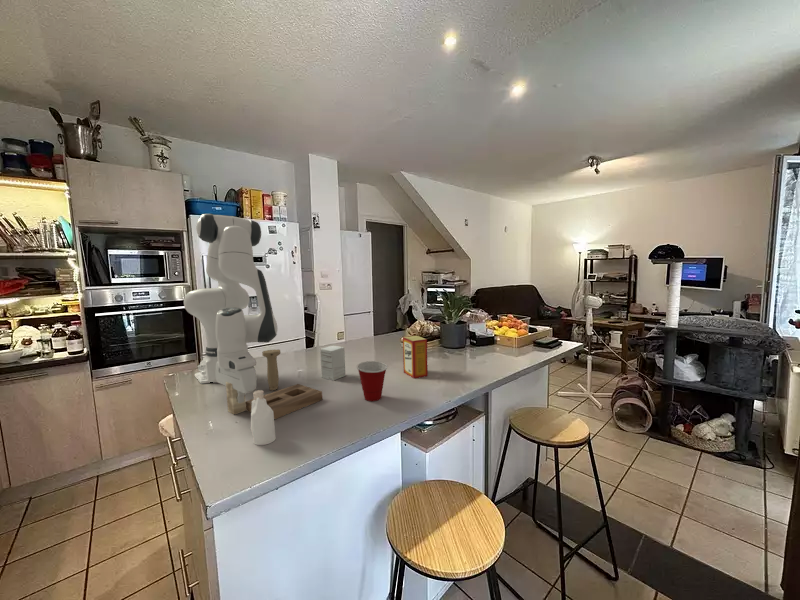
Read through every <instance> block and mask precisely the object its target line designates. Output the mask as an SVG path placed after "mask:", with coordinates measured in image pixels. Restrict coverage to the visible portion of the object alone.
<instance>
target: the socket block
mask: <svg viewBox="0 0 800 600" xmlns="http://www.w3.org/2000/svg"><path fill="white" fill-rule="evenodd" d="M263 397H264V399H266V402H267V405H268V406H269V407H270V408H271V409H272V410H273V413H274V419H275V420H277V419H280V418H282V417H285V416H286V414H287V415H288V414H291V412H292V413H293V412H296V411H299V410H300V409H303V407H304V408H306V407H309V406H311V405H313V404H316V403H318V402H320V400H321V401H323V390H318V389H316V388H314V387H313V388H312V387H309V386H306V385H303V384H300V383H297V384H294V385H290V386H288V387H284V388H282V389H277V390H274V391H273V392H270V393H269V392H268V393H266V394H264V396H263ZM253 400H254V398H251V399H249V400H246V411H247V412H248V413H251V406H252V401H253ZM308 405H309V406H308Z"/></svg>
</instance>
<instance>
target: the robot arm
mask: <svg viewBox="0 0 800 600" xmlns="http://www.w3.org/2000/svg"><path fill="white" fill-rule="evenodd" d="M195 230H196V233H197V235H198V238H199V239H200V240H201V241H202V242H206V243H209V244H208V249H207V257H206V268H205V270H206V274H207V276H208V277H209V278H210V279H212V280H214V281H216V282H217V284H218V285H217V287H213V288H212V287H211V288H210V287H209V288H208V287H207V288H200V289H199V288H198V289H194V290H191V291H188V292H187V293H186V294H185V296H184V299H183V306H184V309H185V310H186V312H187V313H188V314H190V315H191V316H193V317H195V318H196V319H198V321H199V322H200V323H201V325H202V326H203V328H204V333H205V338H206V347H205V356H204V357H203V359H201V361H200V363H199V365H197V367H196V368H197V371H198V372H196V373H194V377H195V378H196V379H198V380H197V381H198V382H199V384H209V383H210V382H213V383H218V384H220V385H223V386H225V387H226V382H228V383H231V384H232V387H233V389H235V390H237V393H238V397H236V399H237V402H238V403H242V402H244V395H245V396H246V394H249V393H253V392H255V391H256V389H257V371H256V368H255V366H257V359H256V358H255V357H253V356H252V355H251V353H250V351H249V348H248V344H249V343H269V342H271V341H273V340H274V339H275V338H276V337H277V335H278V324H277V321H276V318H275V315H274V313H273V307H272V302H271V299H270V294H269V290H268V285H267V281H266V278H265V276H264V273H263V271H262V270H261V269H258V268H257V266H256V265H255V263H254V251H253V250H254V249H253V247H256V246H258V245H259V244H260V241H261V238H262V228H261V226H260V224H259V223H258V222H257V221H254V220H252V219H246V218H243V217H242V218H241V217H237V216H233V215H221V214H213V213H202V214H201V215H199V218H198V220H197V222H196V225H195ZM241 284H242V285H244V286H247V287H250V288H252V289H253V290H254V291H255V294H256V299H257V303H258V307H259V313H258V314H246V315H245V314H244V310H243V309H246V308H247V307H248V306H249V303H250V295H249V293H248V291H247V290H246V289H245V288H244V287H242V286H241Z"/></svg>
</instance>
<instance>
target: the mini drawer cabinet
mask: <svg viewBox="0 0 800 600" xmlns="http://www.w3.org/2000/svg"><path fill="white" fill-rule="evenodd" d="M319 350H320V351H319V352H320V366H321V369H320V370H321V371H320V372H321V378H323V379H325V380H330V381H333V380H334V381H335V380H339V379H340V378H342V377H346V375H347V374H346V358H345V357H346V355H345V353H346V352H345V347H344V346H338V345H329V346H326V347H322V348H320V349H319Z"/></svg>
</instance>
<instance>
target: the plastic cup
mask: <svg viewBox="0 0 800 600" xmlns="http://www.w3.org/2000/svg"><path fill="white" fill-rule="evenodd" d="M388 367H389V366H388V364H387V363H385V362H382V361H378V360H377V361H376V360H366V361H362V362H359V363H358V364H357V365H356V369H357V370H358V374H359V378H360V383H361V388H362V392H363V393H362V394H363V397H364V400H366V401H367V402H375V401H376V402H377V401H379V400H381V399H382V393H383V388H384V383H385V382H384V381H385V374H386V372H387V370H388Z"/></svg>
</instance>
